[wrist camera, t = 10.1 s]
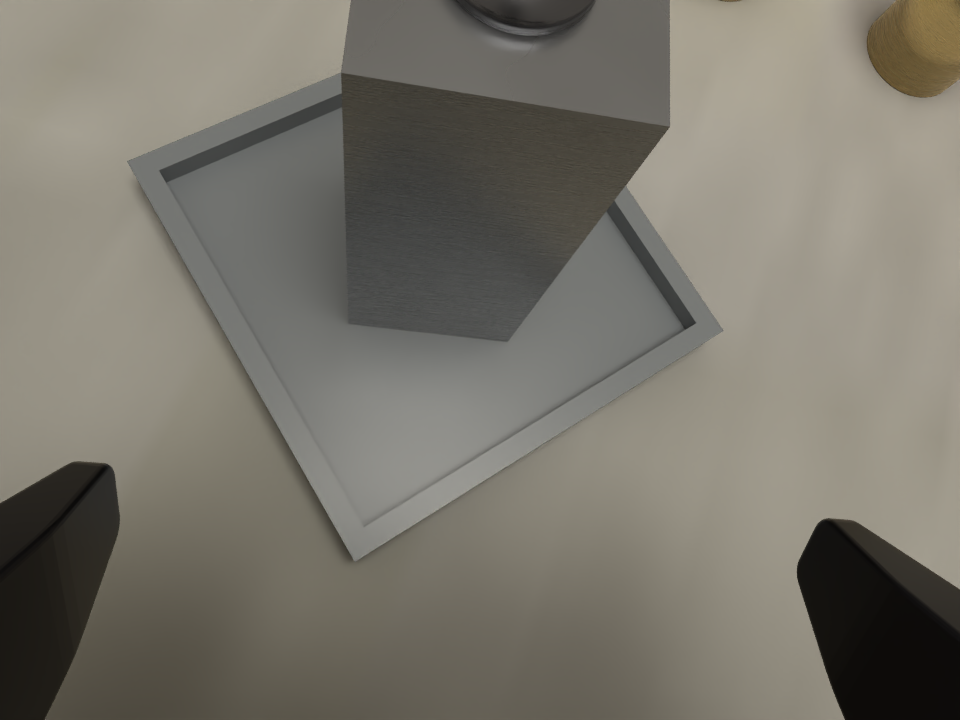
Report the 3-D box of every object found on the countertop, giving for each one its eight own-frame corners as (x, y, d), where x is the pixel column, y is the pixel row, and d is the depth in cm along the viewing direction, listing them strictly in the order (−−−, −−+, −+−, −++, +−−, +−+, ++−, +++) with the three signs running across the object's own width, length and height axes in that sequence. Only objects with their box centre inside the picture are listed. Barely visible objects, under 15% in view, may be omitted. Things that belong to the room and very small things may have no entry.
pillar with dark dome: (507, 342, 20) (679, 114, 10) (348, 324, 20) (341, 57, 9) (516, 199, 22) (677, -146, 11) (366, 178, 21) (377, -213, 10)
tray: (354, 560, 19) (354, 561, 18) (139, 183, 20) (126, 161, 19) (704, 341, 22) (723, 330, 21) (496, 31, 24) (503, 5, 22)
